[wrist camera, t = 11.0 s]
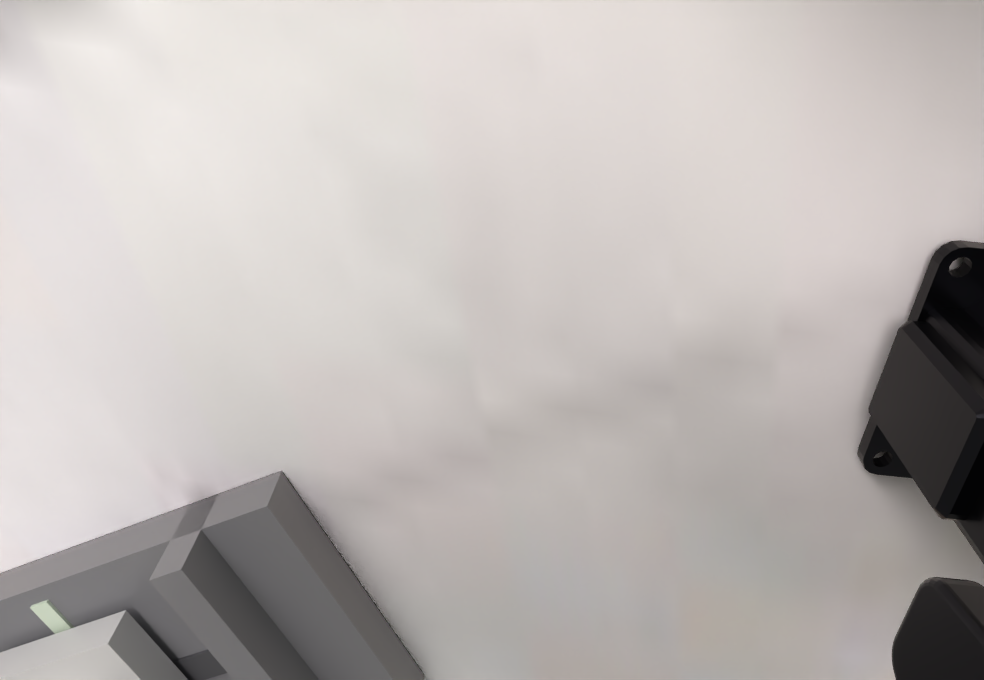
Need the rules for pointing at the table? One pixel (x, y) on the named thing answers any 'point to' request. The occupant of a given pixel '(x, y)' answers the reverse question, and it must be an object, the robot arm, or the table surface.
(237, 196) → the table surface
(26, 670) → the lever
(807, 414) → the table surface
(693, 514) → the table surface
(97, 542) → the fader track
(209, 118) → the table surface
